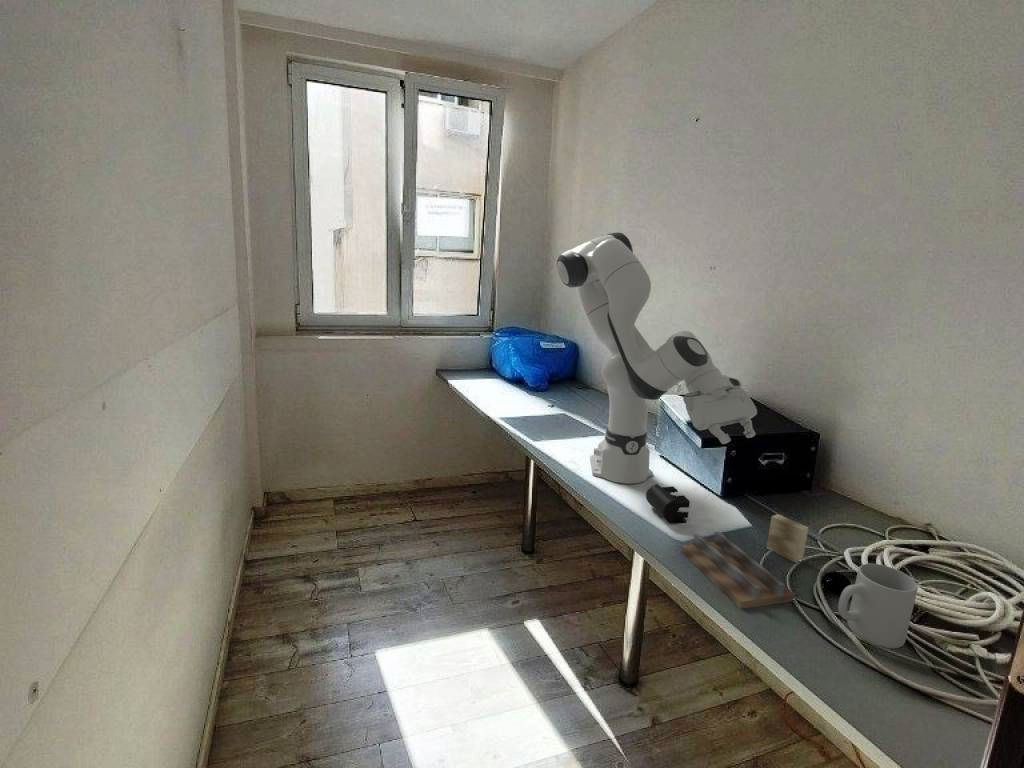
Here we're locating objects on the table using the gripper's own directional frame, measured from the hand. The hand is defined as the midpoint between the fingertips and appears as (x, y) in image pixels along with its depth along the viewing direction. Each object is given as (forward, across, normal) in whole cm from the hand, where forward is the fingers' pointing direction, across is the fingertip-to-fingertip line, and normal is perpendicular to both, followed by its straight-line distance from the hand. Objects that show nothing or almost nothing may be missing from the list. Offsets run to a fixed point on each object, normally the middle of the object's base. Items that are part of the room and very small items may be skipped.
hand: (739, 439), depth 119 cm
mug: (+42, -10, -8) cm, 44 cm away
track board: (+25, -15, +8) cm, 31 cm away
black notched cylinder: (+8, -8, +26) cm, 28 cm away
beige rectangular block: (+26, +2, +7) cm, 27 cm away
